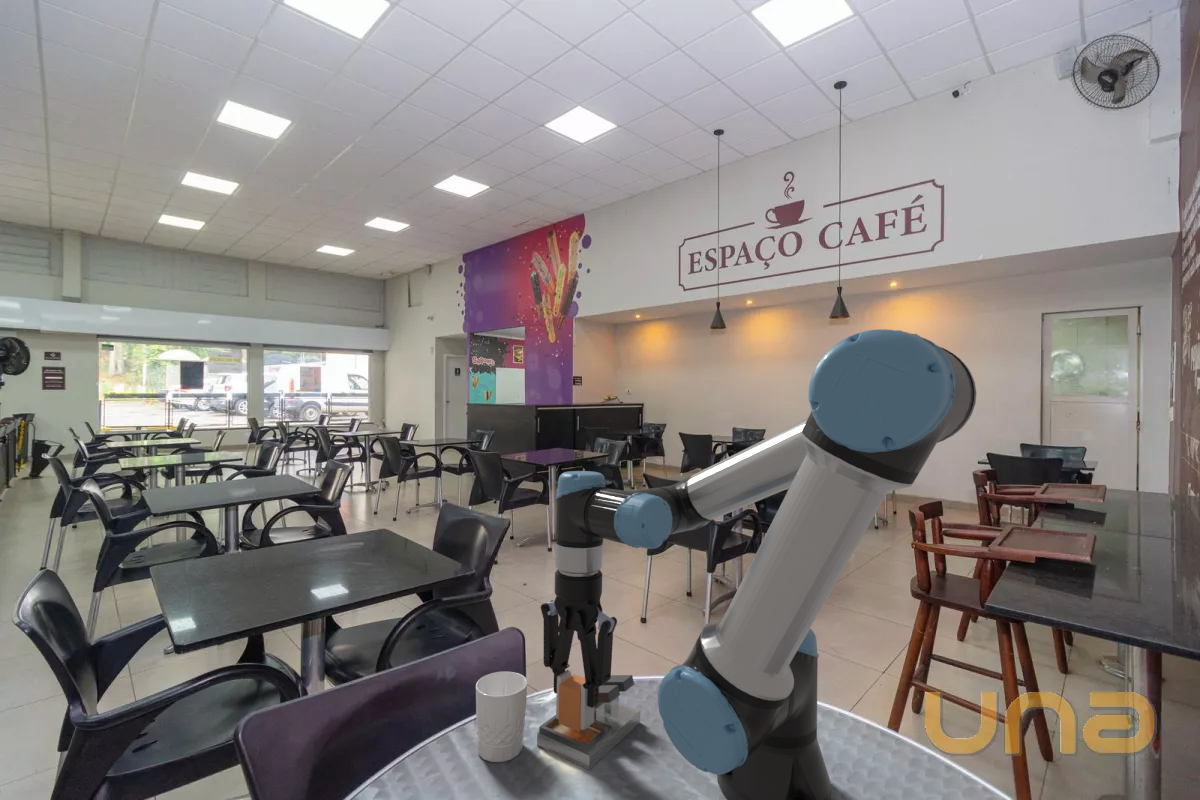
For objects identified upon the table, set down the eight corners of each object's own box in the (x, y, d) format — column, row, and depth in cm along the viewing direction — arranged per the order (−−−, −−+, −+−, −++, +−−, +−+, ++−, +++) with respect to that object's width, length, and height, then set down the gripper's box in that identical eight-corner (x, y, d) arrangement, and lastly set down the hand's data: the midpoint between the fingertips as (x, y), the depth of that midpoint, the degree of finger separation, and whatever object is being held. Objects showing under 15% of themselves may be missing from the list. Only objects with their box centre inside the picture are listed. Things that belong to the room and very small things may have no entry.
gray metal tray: (640, 722, 90) (640, 697, 90) (589, 769, 77) (589, 740, 78) (591, 704, 95) (592, 680, 96) (537, 745, 83) (537, 717, 83)
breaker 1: (635, 687, 91) (632, 674, 91) (625, 695, 88) (622, 682, 88) (598, 687, 95) (595, 675, 95) (587, 695, 92) (584, 682, 92)
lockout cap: (579, 732, 81) (579, 692, 81) (558, 723, 83) (559, 684, 83) (594, 719, 84) (594, 681, 84) (573, 711, 86) (574, 674, 87)
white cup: (515, 769, 77) (517, 699, 78) (465, 761, 79) (466, 692, 79) (532, 737, 85) (534, 674, 85) (486, 731, 87) (488, 668, 87)
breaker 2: (621, 698, 87) (618, 683, 87) (610, 707, 84) (606, 691, 85) (583, 698, 91) (580, 684, 92) (571, 707, 88) (568, 692, 89)
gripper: (637, 574, 82) (634, 727, 82) (552, 556, 92) (548, 693, 91) (611, 586, 76) (607, 752, 75) (522, 565, 86) (518, 712, 85)
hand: (575, 719), depth 83 cm, fingers closed on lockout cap, 4 cm apart
